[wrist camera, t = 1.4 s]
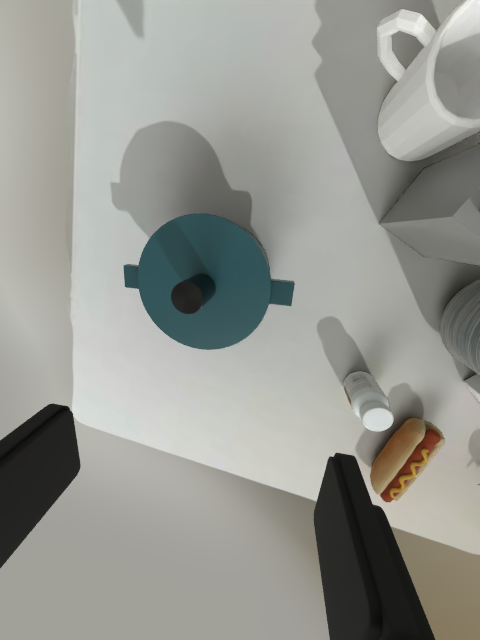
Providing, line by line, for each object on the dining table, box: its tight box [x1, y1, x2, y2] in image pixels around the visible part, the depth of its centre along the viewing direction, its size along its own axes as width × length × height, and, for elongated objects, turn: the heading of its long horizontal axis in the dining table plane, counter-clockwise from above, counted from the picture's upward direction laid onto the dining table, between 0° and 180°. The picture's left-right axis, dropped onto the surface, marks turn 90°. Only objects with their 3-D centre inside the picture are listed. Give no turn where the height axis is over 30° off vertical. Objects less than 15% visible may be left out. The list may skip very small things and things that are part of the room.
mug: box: [377, 0, 480, 162], centre depth 22 cm, size 8×12×10 cm
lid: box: [138, 214, 271, 350], centre depth 24 cm, size 14×14×6 cm
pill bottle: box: [343, 371, 393, 431], centre depth 33 cm, size 4×4×8 cm
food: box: [370, 418, 445, 502], centre depth 37 cm, size 14×6×5 cm, turn 163°
